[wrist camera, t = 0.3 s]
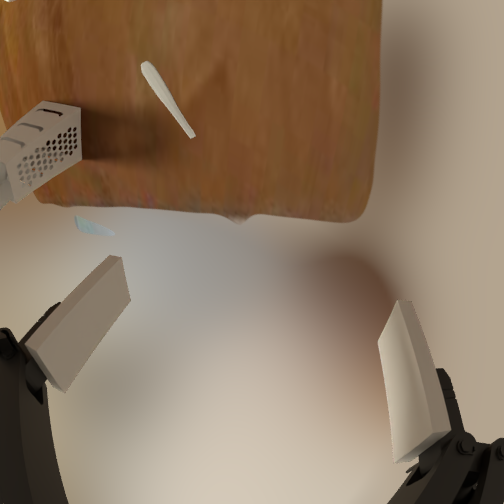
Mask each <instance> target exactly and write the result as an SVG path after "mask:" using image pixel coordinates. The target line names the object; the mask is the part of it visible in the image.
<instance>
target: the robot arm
mask: <svg viewBox="0 0 504 504" xmlns="http://www.w3.org/2000/svg"><path fill="white" fill-rule="evenodd" d="M130 301H131V299H130V295H129V291H128V286H127V282H126V277H125V272H124V268H123V262H122V258H121V257H117V256H112V255H109V256H108V257H107V258H106V259H105V260H104V261H103V262H102V263H101V264H100V265H99V266H98V267H96V269H94V270H93V271H92V272H91V274H89V275H88V276H87V277H86V278H85V279H84V280H83V281H82V282H81V283H80V284H79V285H78V286H77V287H76V288H75V289H74V290H73V291H72V292H71V293H70V294H69V295H68V296H67V297H66V298H65V300H64V301H63V302H62V303H61V302H58V303H57V304H55V305H53V306H52V307H50V308H49V309H48V311H46V313H45V314H44V316H42V317H41V318H40V319H39V320H38V322H36V324H35V325H34V326H33V327H32V328H31V329H30V330H29V332H27V334H26V335H25V336H24V337H23V338H22V339H21V341H20V342H19V343H18V342H17V341H16V339H15V337H14V335H13V334H12V332H11V330H10V329H8V328H0V504H68V500H67V497H66V494H65V491H64V487H63V483H62V480H61V476H60V472H59V468H58V463H57V459H56V454H55V449H54V443H53V438H52V431H51V424H50V417H49V408H48V398H47V387H46V384H45V381H46V380H47V379H48V380H49V382H50V383H51V385H52V386H53V387H55V388H56V389H58V390H59V391H61V392H63V393H66V391H67V390H68V388H69V387H70V385H71V383H72V382H73V380H74V379H75V377H76V376H77V374H78V373H79V371H80V370H81V369H82V367H83V366H84V364H85V363H86V361H87V360H88V358H89V357H90V356H91V354H92V353H93V351H94V350H95V348H96V347H97V346H98V344H99V343H100V341H101V340H102V339H103V337H104V336H105V335H106V333H107V332H108V330H109V329H110V327H111V326H112V325H113V323H114V322H115V321H116V320H117V318H118V317H119V316H120V314H121V313H122V312H123V310H124V309H125V308H126V306H127V305H128V304H129V302H130ZM378 347H379V352H380V357H381V363H382V368H383V375H384V380H385V387H386V394H387V401H388V409H389V417H390V426H391V436H392V449H393V463H402V462H409V461H412V460H413V459H415V458H416V457H417V456H419V462H418V463H417V464H415V465H414V466H412V467H411V468H409V469H408V470H407V471H406V473H409V472H410V471H412V472H411V473H410V474H409V476H408V477H407V479H406V480H405V481H404V483H403V484H402V485H401V487H400V489H398V491H397V492H396V493H395V495H394V496H393V497H392V498H391V500H390V501H389V502H388V503H387V504H503V502H504V438H499V439H497V440H496V441H494V442H493V443H492V444H486V443H479V442H476V440H475V438H474V437H473V436H472V435H471V434H470V433H467V432H465V430H464V427H463V423H462V419H461V415H460V411H459V407H458V403H457V400H456V399H455V393H454V391H453V386H452V383H451V379H450V377H449V376H448V374H447V373H446V372H445V370H444V369H443V368H438V369H435V366H434V362H433V359H432V356H431V353H430V350H429V347H428V344H427V341H426V338H425V336H424V333H423V330H422V327H421V325H420V322H419V319H418V317H417V314H416V312H415V309H414V307H413V304H412V302H411V301H403V300H397V302H396V304H395V306H394V308H393V311H392V313H391V315H390V317H389V320H388V322H387V324H386V326H385V328H384V330H383V332H382V334H381V336H380V338H379V340H378ZM476 485H477V486H476Z"/></svg>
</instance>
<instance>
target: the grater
mask: <svg viewBox="0 0 504 504" xmlns="http://www.w3.org/2000/svg"><path fill="white" fill-rule="evenodd" d="M43 109H48V110H53V111H58V112H62V113H63V115H62V116H60V117H59V115H58V114H55V113H50V112H45V111H43ZM70 127H71V132H68V129H69V128H70ZM74 127H76V128H77V129H76V131H75V132H73V128H74ZM60 133H61V138H59V139H58V134H60ZM64 133H67V136H66V137H65V138H64V137H63V135H64ZM70 133H71V134H72V136H71V138H68V135H69V134H70ZM74 133H77V136H76V137H75V138H74V137H73V135H74ZM54 139H55V140H56V143H55V144H54V145H52V141H53V140H54ZM60 139H61V140H62V143H61V144H60V145H59V144H58V141H59V140H60ZM65 139H67V143H65V144H64V143H63V142H64V140H65ZM70 139H72V143H71V144H69V143H68V142H69V140H70ZM75 139H77V142H76V143H75V144H74V143H73V142H74V140H75ZM48 140H50V144H49V145H48V146H47V145H46V143H47V141H48ZM76 144H77V148H76V149H74V146H75V145H76ZM61 145H62V149H61V150H59V146H61ZM65 145H68V147H67V149H66V150H64V146H65ZM70 145H72V149H71V150H69V146H70ZM54 146H56V150H53V147H54ZM48 147H51V149H48ZM65 151H68V154H65ZM70 151H73V153H72V155H71V156H70V155H69V153H70ZM61 152H63V153H61ZM48 156H50V158H48ZM55 158H56V159H58V161H54V159H55ZM51 159H52V160H51ZM60 160H61V161H62V162H60ZM81 160H82V149H81V108H79V107H74V106H69V105H64V104H59V103H53V102H47V101H42V102H41V103H39V104H38V105H37V106H36V107H34V108H33V109H32V110H31V111H29V112H28V113H27V114H26V115H24V116H23V117H22V118H21V119H20V120H19V121H17V122H16V123H15V124H14V125H13V126H12V127H11V128H10V129H8V130H7V131H6V132H5V133H4V134H3V135H2V136H1V137H0V210H1V209H2V208H3V207H4V206H5V205H6V204H7V203H8V202H9V201H10V200H11V201H12V202H14V203H18V202H19V201H20V200H21V199H23V198H24V197H26V196H27V195H28V194H30V193H31V192H33V191H34V190H35V189H37V188H38V187H40V186H41V185H43V184H44V183H46V182H47V181H49V180H50V179H52V178H53V177H55V176H56V175H58V174H59V173H61V172H63V171H64V170H66V169H67V168H69V167H71V166H72V165H74V164H76V163H77V162H79V161H81ZM32 168H35V169H36V170H35V171H33V170H32ZM38 170H40V172H38ZM41 172H43V174H40V173H41ZM20 180H21V181H22V182H21V181H20ZM23 182H25V183H23ZM28 184H30V185H31V186H29V185H28Z"/></svg>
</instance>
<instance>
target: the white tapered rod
mask: <svg viewBox="0 0 504 504" xmlns="http://www.w3.org/2000/svg"><path fill="white" fill-rule="evenodd" d="M141 69H142V73H143V75H144V76H145V78H146V80H147V81H148V83H149V84H150V86H151V87H152V89H153V90H154V91H155V93H156V94H157V96H158V97H159V98H160V100H161V101H162V102H163V103H164V104H165V106H166V107H167V108H168V109H169V111H170V112H171V113H172V114H173V116H174V117H175V119H176V120H177V121H178V123H179V124H180V125H181V127H182V128H183V129H184V131H185V132H186V133H187V135H188V136H189V137H190V139H191V138H193V137H195V136H196V135H195V133H194V132H193V130H192V129H191V127H190V126H189V124H188V123H187V121H186V119H185V118H184V116H183V115H182V113H181V111H180V110H179V108H178V106H177V104H176V102H175V100H174V98H173V96H172V94H171V93H170V91H169V89H168V87H167V86H166V84H165V82H164V81H163V79H162V77H161V76H160V74H159V73H158V71H157V70H156V68H155V67H154V65H153V64H152V63H150V62H149V61H145V62H144V63H143V64H142V65H141Z"/></svg>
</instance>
